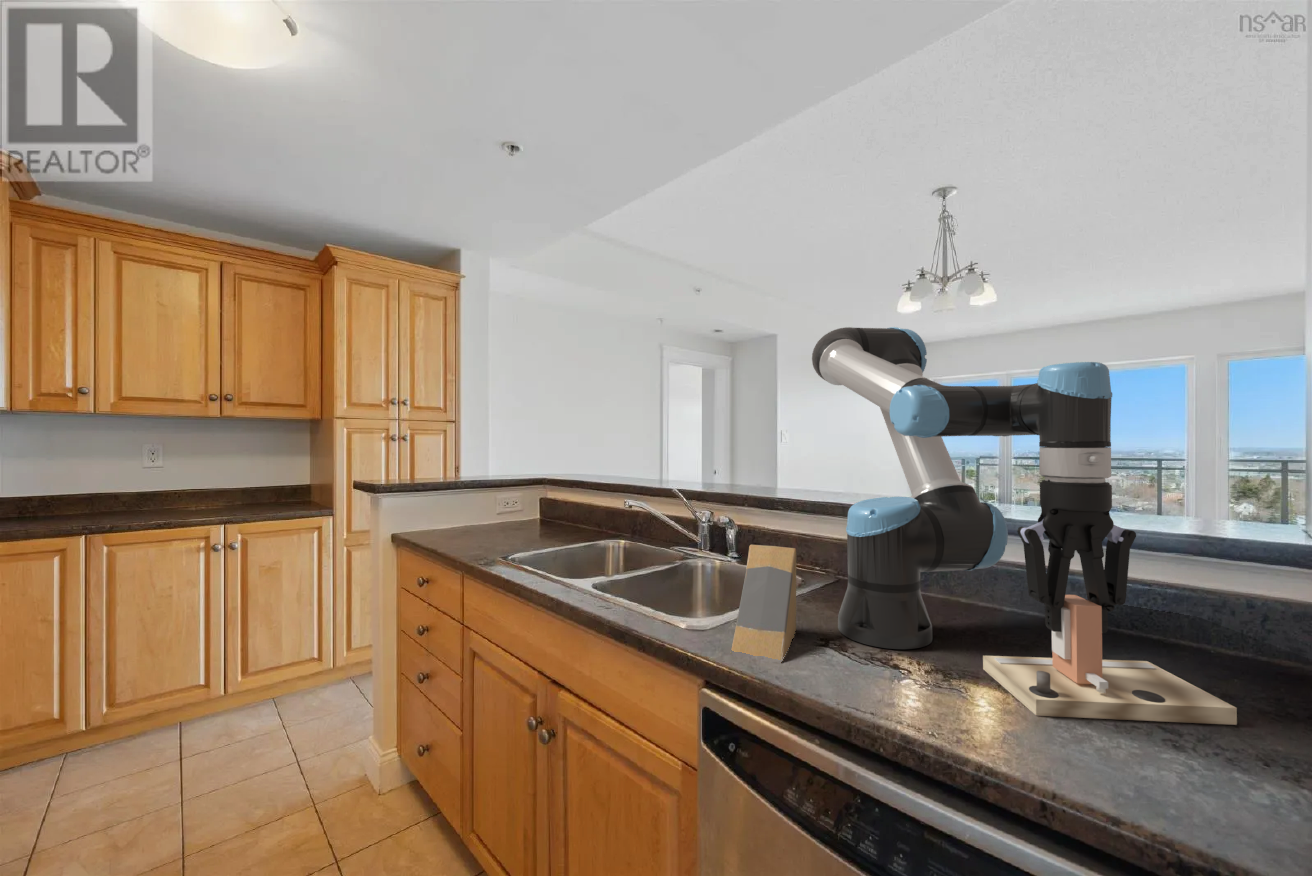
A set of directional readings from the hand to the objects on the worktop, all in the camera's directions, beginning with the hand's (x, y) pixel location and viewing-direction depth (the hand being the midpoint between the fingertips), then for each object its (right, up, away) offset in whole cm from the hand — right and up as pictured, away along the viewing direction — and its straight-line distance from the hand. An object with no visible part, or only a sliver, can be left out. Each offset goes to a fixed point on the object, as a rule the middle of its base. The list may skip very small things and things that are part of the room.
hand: (1076, 655), depth 70 cm
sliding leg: (0, -3, -1) cm, 3 cm away
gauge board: (+2, -5, 0) cm, 6 cm away
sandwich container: (-38, -6, +19) cm, 42 cm away
